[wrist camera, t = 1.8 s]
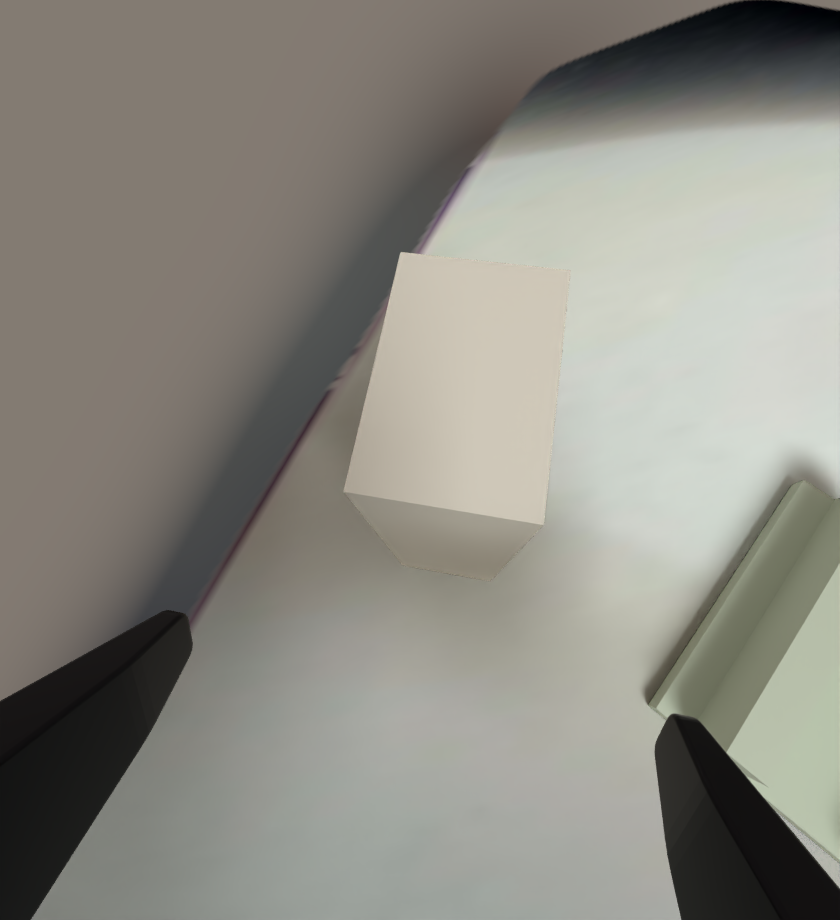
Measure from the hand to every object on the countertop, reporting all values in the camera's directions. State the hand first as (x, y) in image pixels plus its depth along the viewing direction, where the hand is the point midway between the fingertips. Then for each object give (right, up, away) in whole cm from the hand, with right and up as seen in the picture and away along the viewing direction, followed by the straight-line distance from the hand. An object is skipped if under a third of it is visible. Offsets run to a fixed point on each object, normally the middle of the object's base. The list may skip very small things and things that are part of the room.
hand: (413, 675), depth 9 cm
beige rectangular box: (+2, +2, +14) cm, 14 cm away
